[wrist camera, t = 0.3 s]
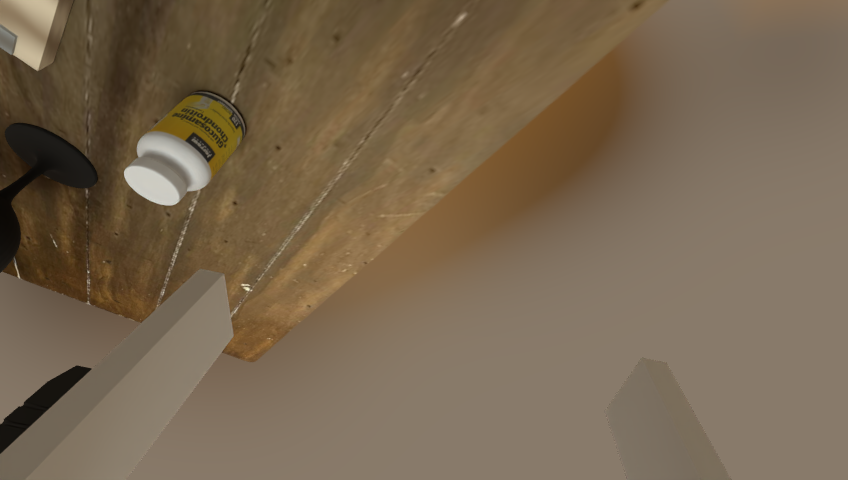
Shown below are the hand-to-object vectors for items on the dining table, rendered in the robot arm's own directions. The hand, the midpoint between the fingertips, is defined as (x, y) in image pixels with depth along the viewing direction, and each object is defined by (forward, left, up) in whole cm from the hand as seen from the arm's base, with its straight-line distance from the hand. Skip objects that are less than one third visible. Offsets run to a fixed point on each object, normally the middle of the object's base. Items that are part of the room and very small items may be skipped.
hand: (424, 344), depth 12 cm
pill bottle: (+28, -9, -28) cm, 40 cm away
